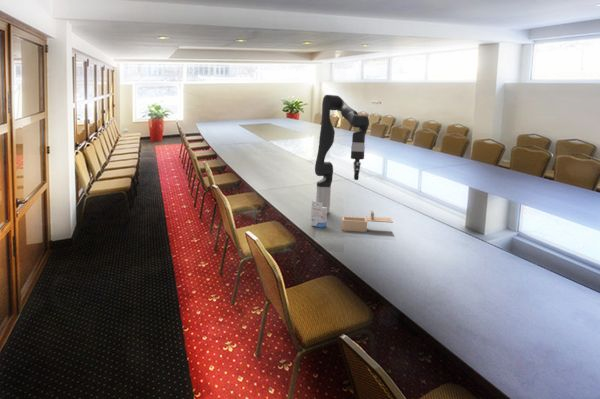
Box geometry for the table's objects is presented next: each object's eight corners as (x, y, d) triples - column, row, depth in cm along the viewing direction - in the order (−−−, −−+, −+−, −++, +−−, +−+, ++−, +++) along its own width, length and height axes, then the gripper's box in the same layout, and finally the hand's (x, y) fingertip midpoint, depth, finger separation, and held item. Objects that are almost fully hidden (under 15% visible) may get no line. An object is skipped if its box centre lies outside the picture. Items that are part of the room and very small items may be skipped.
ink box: (326, 226, 240) (327, 202, 238) (321, 227, 236) (322, 203, 234) (315, 224, 245) (316, 200, 243) (310, 225, 242) (311, 201, 239)
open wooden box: (341, 226, 242) (342, 216, 241) (365, 227, 241) (366, 217, 240) (342, 230, 232) (342, 220, 231) (366, 231, 230) (367, 221, 229)
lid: (365, 217, 240) (366, 209, 240) (390, 218, 239) (390, 211, 238) (367, 221, 229) (367, 213, 228) (392, 222, 228) (393, 214, 227)
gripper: (365, 151, 222) (363, 180, 224) (363, 150, 236) (362, 178, 238) (351, 150, 222) (349, 180, 225) (350, 150, 237) (349, 177, 239)
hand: (356, 179), depth 232 cm, fingers open, 7 cm apart
